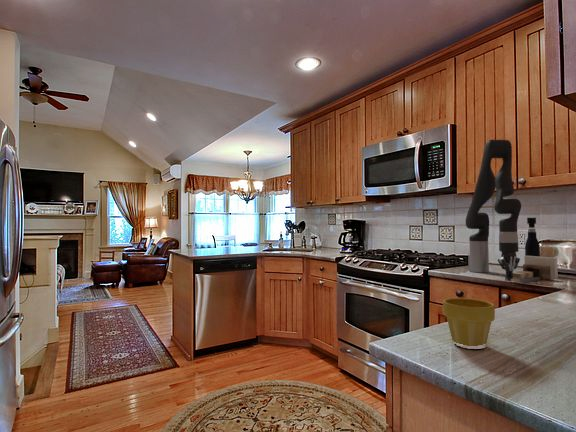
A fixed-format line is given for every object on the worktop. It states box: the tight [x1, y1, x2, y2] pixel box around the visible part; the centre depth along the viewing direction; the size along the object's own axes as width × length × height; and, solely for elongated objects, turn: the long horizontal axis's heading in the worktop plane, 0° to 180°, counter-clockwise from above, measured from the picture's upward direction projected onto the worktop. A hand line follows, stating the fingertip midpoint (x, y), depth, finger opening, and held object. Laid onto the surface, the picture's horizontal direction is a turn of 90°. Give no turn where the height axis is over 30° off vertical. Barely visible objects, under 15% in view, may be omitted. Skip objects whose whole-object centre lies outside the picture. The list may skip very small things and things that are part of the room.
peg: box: [510, 270, 533, 283], centre depth 160 cm, size 12×4×4 cm, turn 119°
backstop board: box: [523, 255, 559, 280], centre depth 170 cm, size 14×2×10 cm, turn 24°
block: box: [522, 263, 552, 281], centre depth 165 cm, size 9×6×6 cm, turn 24°
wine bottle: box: [524, 217, 541, 257], centre depth 179 cm, size 6×6×30 cm
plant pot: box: [442, 297, 496, 346], centre depth 77 cm, size 10×10×10 cm
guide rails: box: [504, 276, 541, 284], centre depth 160 cm, size 8×14×2 cm, turn 114°
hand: (509, 278), depth 157 cm, fingers closed
